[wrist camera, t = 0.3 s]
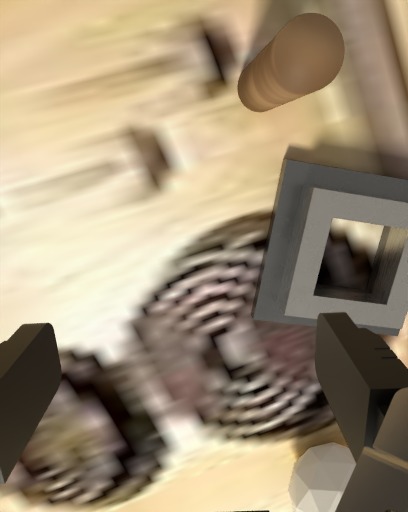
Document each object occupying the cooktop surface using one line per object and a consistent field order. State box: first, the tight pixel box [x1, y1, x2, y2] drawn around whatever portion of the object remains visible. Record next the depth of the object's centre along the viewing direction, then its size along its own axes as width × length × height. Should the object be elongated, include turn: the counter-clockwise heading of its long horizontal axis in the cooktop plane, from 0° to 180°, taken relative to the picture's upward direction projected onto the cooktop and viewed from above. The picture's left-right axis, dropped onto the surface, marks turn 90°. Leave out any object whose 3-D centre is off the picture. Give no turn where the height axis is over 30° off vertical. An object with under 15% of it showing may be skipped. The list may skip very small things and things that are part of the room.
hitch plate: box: [251, 159, 408, 336], centre depth 32 cm, size 14×14×4 cm
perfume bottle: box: [288, 442, 356, 512], centre depth 36 cm, size 9×9×12 cm
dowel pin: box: [238, 13, 344, 112], centre depth 24 cm, size 4×4×11 cm
